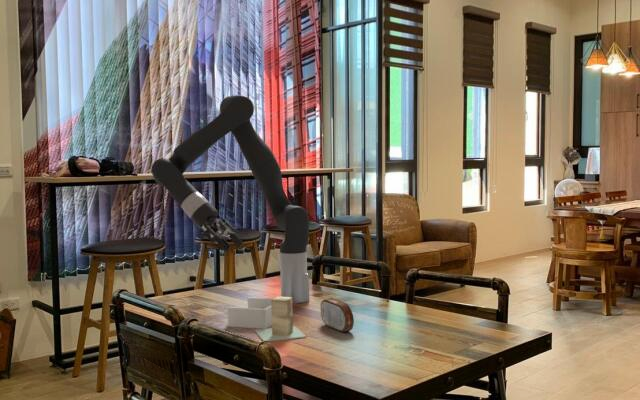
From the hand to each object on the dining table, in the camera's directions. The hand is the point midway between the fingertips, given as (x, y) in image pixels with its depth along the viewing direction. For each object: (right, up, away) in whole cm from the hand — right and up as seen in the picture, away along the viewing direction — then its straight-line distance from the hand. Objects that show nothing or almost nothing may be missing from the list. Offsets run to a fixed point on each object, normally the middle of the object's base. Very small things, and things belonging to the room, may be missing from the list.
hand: (235, 247), depth 203 cm
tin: (+30, -23, -7) cm, 39 cm away
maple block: (+15, -23, -13) cm, 31 cm away
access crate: (+6, -23, +3) cm, 24 cm away
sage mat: (+14, -24, -12) cm, 30 cm away
